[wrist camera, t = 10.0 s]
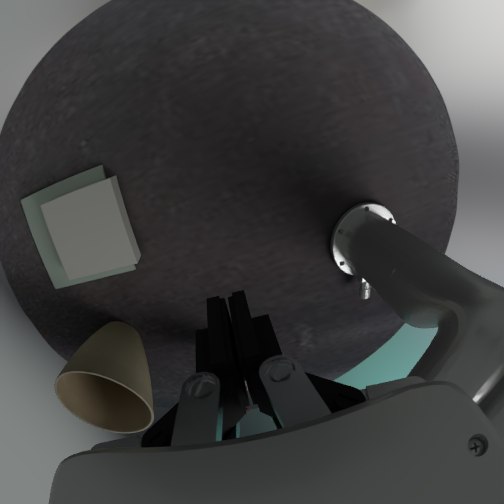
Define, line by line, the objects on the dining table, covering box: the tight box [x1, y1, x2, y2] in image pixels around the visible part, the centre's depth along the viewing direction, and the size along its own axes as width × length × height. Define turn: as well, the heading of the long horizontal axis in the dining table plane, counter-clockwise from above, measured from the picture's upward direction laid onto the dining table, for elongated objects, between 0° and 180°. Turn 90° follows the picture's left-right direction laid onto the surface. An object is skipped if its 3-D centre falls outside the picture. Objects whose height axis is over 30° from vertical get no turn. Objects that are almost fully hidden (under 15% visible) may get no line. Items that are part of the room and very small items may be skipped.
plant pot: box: [55, 321, 154, 433], centre depth 36 cm, size 15×15×16 cm
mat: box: [21, 165, 136, 289], centre depth 35 cm, size 16×16×1 cm
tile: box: [40, 175, 141, 280], centre depth 34 cm, size 12×3×12 cm
